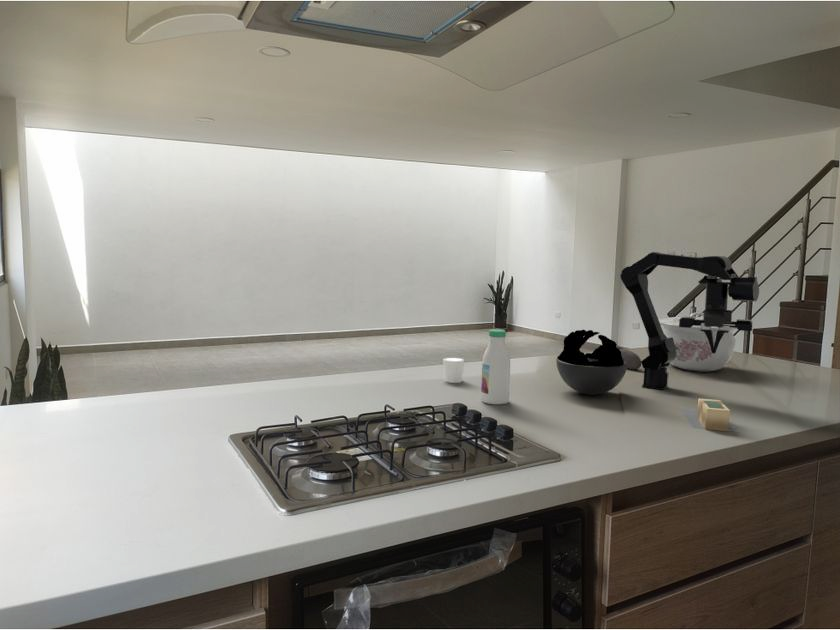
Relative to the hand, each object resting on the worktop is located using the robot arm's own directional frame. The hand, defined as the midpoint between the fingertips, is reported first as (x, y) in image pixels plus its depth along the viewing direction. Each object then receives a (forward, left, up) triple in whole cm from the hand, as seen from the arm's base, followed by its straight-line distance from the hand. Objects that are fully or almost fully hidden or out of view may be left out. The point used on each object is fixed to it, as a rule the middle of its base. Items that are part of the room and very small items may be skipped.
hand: (713, 353), depth 170 cm
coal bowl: (-31, -17, -13) cm, 38 cm away
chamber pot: (-8, +45, -13) cm, 48 cm away
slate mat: (+1, -28, -13) cm, 31 cm away
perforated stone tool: (-30, +30, -14) cm, 45 cm away
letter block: (+1, -27, -10) cm, 28 cm away
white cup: (-72, -25, -13) cm, 77 cm away
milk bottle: (-51, -41, -13) cm, 67 cm away
